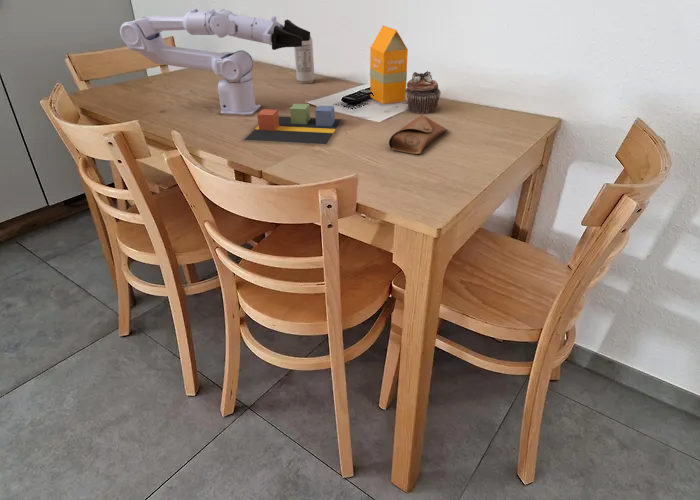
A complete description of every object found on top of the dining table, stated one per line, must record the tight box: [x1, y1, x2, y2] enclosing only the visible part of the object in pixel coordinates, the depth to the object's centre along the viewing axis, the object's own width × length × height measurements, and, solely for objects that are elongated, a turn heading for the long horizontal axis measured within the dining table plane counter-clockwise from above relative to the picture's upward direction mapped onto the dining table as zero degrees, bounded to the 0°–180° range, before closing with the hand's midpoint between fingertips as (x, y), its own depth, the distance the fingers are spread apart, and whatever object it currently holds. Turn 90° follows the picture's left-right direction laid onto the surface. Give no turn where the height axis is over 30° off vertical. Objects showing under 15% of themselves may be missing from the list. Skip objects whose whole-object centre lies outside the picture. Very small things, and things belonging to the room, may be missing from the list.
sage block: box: [289, 103, 311, 124], centre depth 131 cm, size 4×4×4 cm
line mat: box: [244, 116, 342, 145], centre depth 128 cm, size 21×18×1 cm
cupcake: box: [406, 70, 442, 114], centre depth 137 cm, size 10×10×10 cm
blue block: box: [314, 105, 336, 127], centre depth 129 cm, size 4×4×4 cm
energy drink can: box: [293, 35, 315, 85], centre depth 162 cm, size 6×6×15 cm
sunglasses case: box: [388, 113, 449, 155], centre depth 120 cm, size 18×7×7 cm
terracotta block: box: [256, 108, 280, 131], centre depth 128 cm, size 4×4×4 cm
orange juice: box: [369, 25, 409, 105], centre depth 143 cm, size 8×9×20 cm
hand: (305, 39), depth 128 cm, fingers open, 7 cm apart
